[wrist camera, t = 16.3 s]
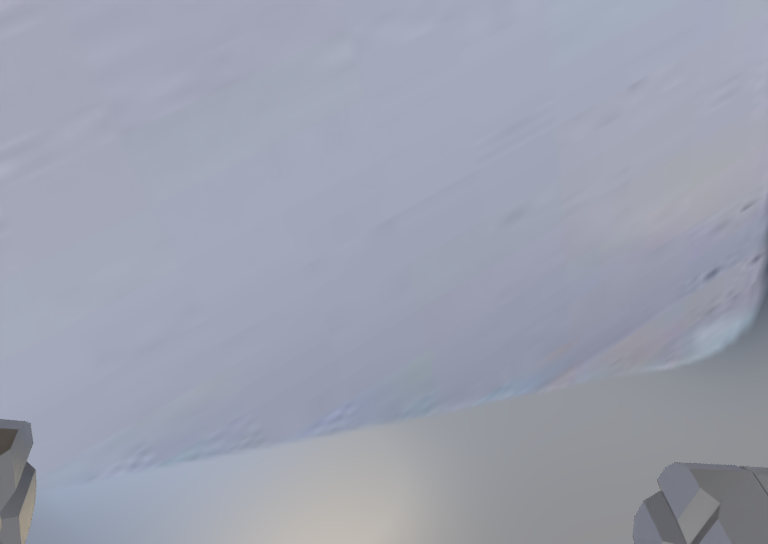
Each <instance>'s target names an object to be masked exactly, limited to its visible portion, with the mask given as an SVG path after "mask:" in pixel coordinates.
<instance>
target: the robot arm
mask: <svg viewBox="0 0 768 544" xmlns="http://www.w3.org/2000/svg"><path fill="white" fill-rule="evenodd" d="M32 445H33V438H32V431H31V423H28V422H26V421H16V420H4V419H0V544H25V541H26V538H27V535H28V532H29V529H30V524H31V520H32V515H33V510H34V505H35V498H36V470H35V469H34V468H33V467H32V466H31V465H30V464H29V463H28V462H27V459H28V456H29V453H30V450H31V448H32ZM657 482H658V485H659V488H660V491H659V492H657V493H656V494H654V495H653V496H651V497H649V498H647V499H646V500H644V501H643V503H642V504H641V506H640V508H639V510H638V511H637V513H636V515H635V517H634V528H633V540H634V544H768V468H765V467H764V468H763V467H748V466H739V467H738V466H735V465H719V464H698V463H680V462H679V463H678V462H675V463H673V464H672V465H669V466H667V467H665V469H664V470H663V472H662V473H661V475H660V476H659V478H658V479H657Z"/></svg>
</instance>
